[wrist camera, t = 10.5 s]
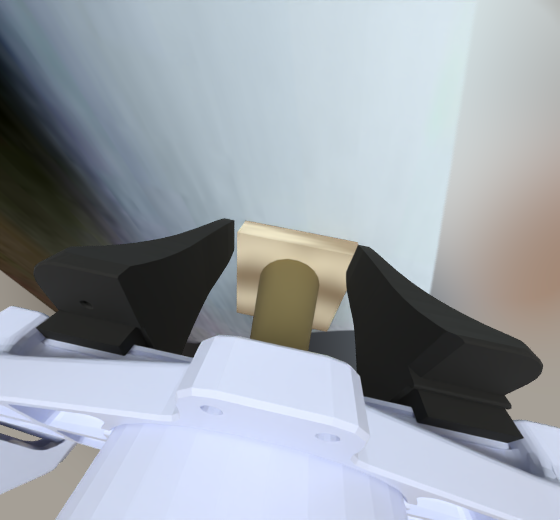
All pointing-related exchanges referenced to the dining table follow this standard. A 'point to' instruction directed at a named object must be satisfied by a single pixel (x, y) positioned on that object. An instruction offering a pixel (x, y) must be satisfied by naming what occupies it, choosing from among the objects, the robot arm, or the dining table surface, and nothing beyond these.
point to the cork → (285, 304)
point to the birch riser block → (297, 246)
